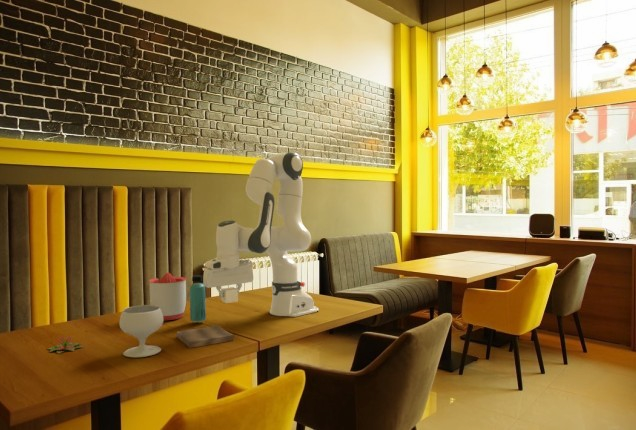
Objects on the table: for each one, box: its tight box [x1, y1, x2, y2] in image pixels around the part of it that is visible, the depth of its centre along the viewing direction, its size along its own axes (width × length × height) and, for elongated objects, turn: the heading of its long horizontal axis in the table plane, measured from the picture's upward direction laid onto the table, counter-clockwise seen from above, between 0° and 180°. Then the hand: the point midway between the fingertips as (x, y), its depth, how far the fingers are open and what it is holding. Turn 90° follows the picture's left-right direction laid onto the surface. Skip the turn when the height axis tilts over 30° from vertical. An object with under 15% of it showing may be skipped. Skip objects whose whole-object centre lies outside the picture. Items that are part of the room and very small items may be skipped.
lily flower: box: [48, 335, 84, 354], centre depth 169 cm, size 12×12×5 cm
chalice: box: [119, 304, 164, 358], centre depth 163 cm, size 14×14×15 cm
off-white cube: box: [220, 286, 239, 304], centre depth 193 cm, size 5×5×5 cm
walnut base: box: [176, 325, 234, 349], centre depth 179 cm, size 16×16×2 cm
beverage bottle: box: [189, 274, 207, 323], centre depth 201 cm, size 6×7×20 cm
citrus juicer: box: [148, 272, 187, 322], centre depth 211 cm, size 16×17×20 cm
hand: (229, 295), depth 194 cm, fingers closed on off-white cube, 5 cm apart
